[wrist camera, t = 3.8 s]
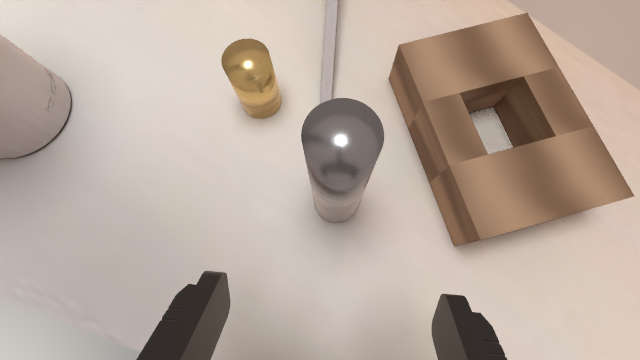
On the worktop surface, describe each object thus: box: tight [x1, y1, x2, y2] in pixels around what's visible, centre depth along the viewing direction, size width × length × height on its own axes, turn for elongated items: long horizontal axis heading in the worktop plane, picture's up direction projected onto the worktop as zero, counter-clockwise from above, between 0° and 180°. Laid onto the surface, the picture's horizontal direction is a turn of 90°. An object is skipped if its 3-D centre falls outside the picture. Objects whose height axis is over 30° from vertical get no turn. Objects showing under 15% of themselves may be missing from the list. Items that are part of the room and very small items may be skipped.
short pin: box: [222, 39, 281, 119], centre depth 26 cm, size 4×4×6 cm
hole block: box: [389, 13, 634, 246], centre depth 25 cm, size 11×16×4 cm
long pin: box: [301, 98, 384, 223], centre depth 20 cm, size 4×4×13 cm
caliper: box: [320, 0, 338, 104], centre depth 28 cm, size 20×1×6 cm, turn 176°
